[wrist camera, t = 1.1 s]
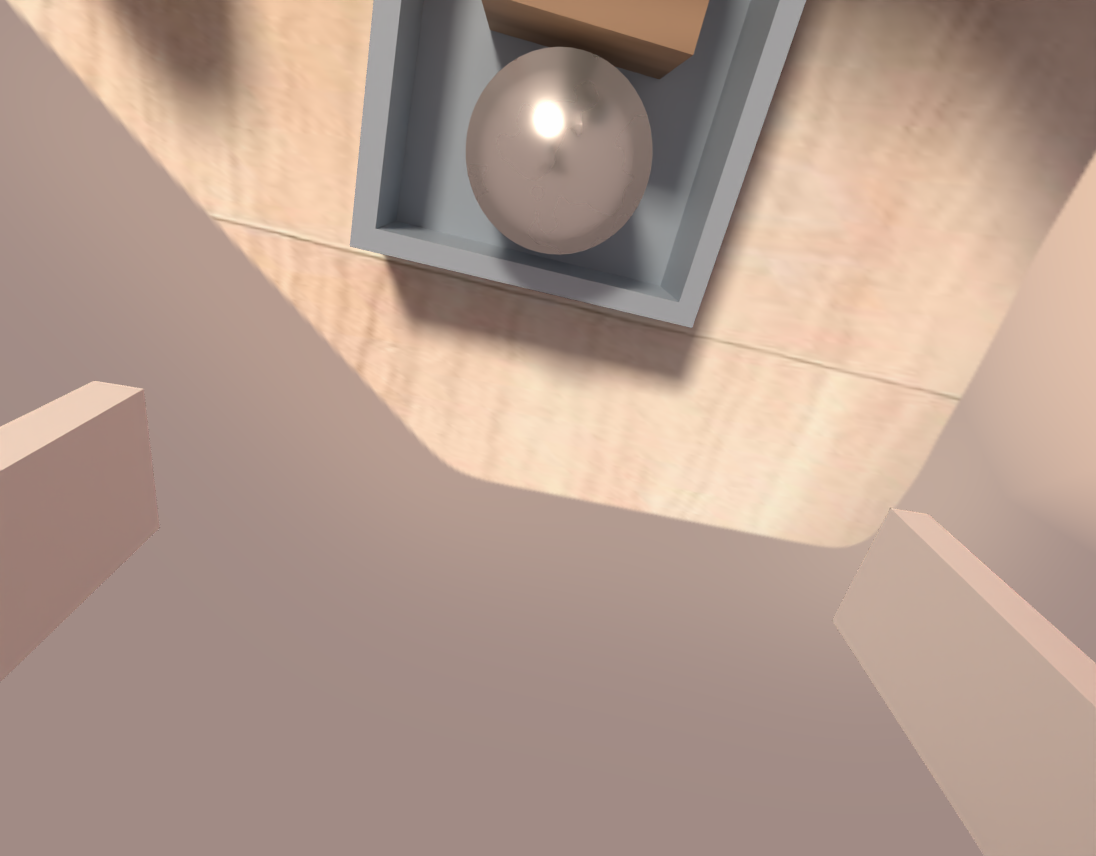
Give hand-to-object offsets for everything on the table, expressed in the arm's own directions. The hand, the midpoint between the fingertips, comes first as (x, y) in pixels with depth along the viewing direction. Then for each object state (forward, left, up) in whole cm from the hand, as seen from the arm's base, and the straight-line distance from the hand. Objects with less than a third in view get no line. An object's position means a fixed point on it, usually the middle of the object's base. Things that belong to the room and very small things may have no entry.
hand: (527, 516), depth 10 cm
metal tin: (-6, 0, -22) cm, 23 cm away
